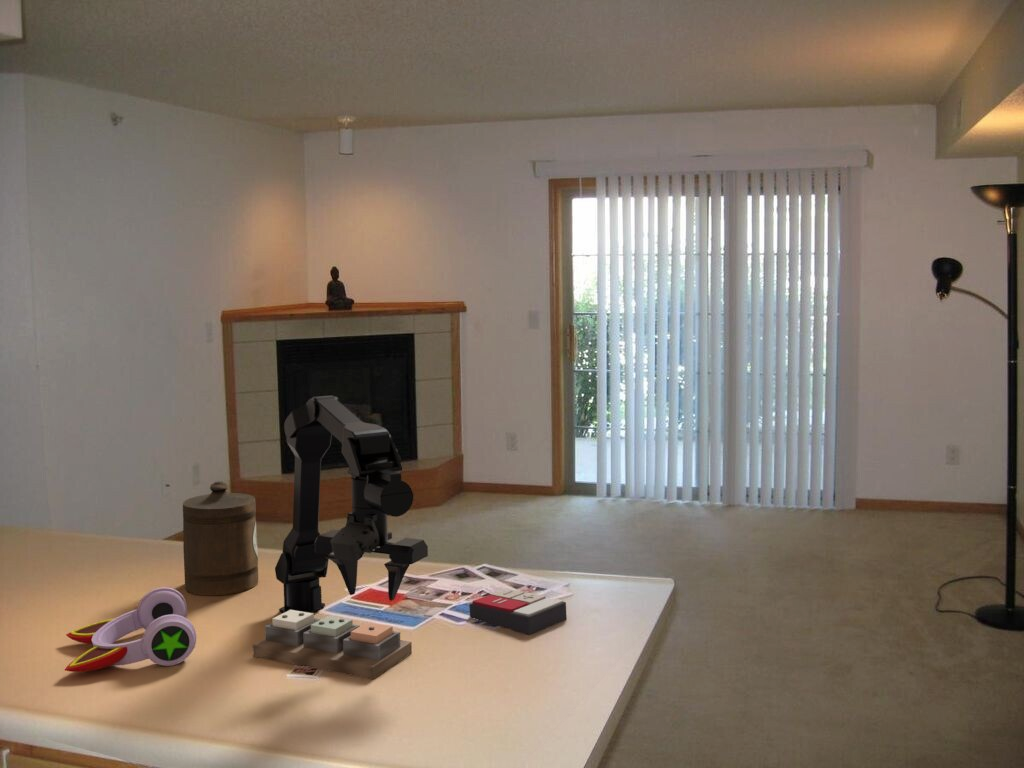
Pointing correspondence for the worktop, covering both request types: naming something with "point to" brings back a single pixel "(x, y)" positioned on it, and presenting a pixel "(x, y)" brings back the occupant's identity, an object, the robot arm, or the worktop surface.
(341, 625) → the button sage
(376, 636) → the button terracotta
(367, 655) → the button panel
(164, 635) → the headphones
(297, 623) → the button cream
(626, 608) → the worktop surface
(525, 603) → the calculator
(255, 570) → the wooden container
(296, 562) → the robot arm
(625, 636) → the worktop surface
